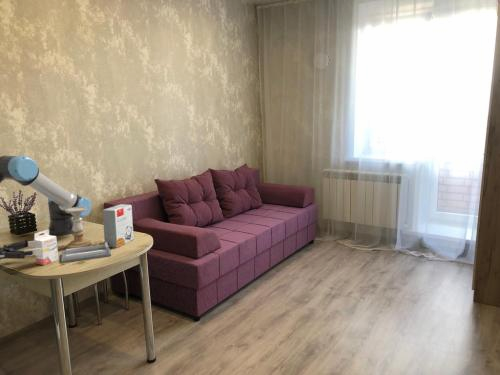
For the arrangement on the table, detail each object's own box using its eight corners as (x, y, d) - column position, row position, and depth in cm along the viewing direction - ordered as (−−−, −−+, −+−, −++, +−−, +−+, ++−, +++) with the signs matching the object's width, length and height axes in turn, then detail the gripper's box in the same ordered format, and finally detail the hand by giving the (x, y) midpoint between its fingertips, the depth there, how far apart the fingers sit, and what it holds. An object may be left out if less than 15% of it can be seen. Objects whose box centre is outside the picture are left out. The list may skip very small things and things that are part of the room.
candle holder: (85, 240, 220) (82, 205, 217) (96, 245, 212) (92, 208, 208) (62, 246, 212) (59, 209, 208) (72, 251, 203) (68, 212, 200)
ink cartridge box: (44, 265, 184) (40, 234, 182) (36, 264, 186) (32, 233, 184) (59, 259, 192) (56, 229, 189) (51, 258, 194) (48, 228, 191)
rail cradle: (62, 254, 200) (61, 245, 199) (108, 247, 208) (108, 239, 207) (61, 263, 187) (60, 254, 186) (111, 255, 196) (110, 247, 195)
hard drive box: (116, 248, 207) (113, 210, 203) (104, 247, 209) (101, 210, 206) (134, 239, 221) (131, 204, 218) (122, 238, 224) (119, 203, 220)
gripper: (-5, 252, 191) (45, 246, 199) (-16, 271, 168) (41, 263, 176) (-7, 237, 189) (43, 232, 197) (-18, 254, 167) (39, 246, 175)
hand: (42, 246), depth 187 cm, fingers open, 13 cm apart
